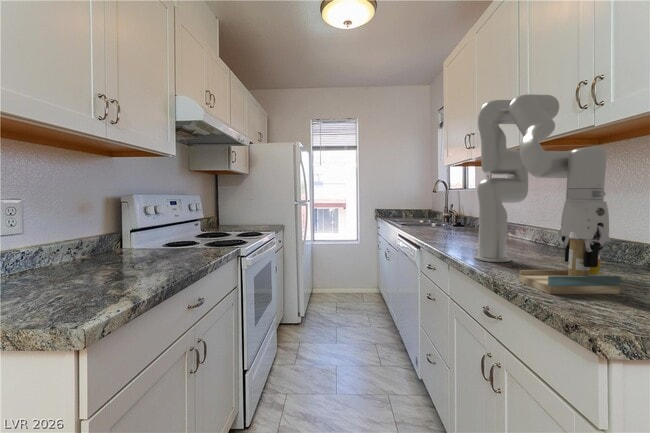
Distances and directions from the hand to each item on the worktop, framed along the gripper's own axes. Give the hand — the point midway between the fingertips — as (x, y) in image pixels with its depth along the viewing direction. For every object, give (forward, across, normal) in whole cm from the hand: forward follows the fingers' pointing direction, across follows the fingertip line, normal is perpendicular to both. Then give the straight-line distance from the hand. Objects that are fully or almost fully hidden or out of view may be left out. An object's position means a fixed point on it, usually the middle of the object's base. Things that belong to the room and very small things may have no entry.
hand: (580, 263), depth 81 cm
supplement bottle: (+7, +10, -11) cm, 16 cm away
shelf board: (+7, +2, +2) cm, 7 cm away
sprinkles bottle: (+5, 0, 0) cm, 5 cm away
